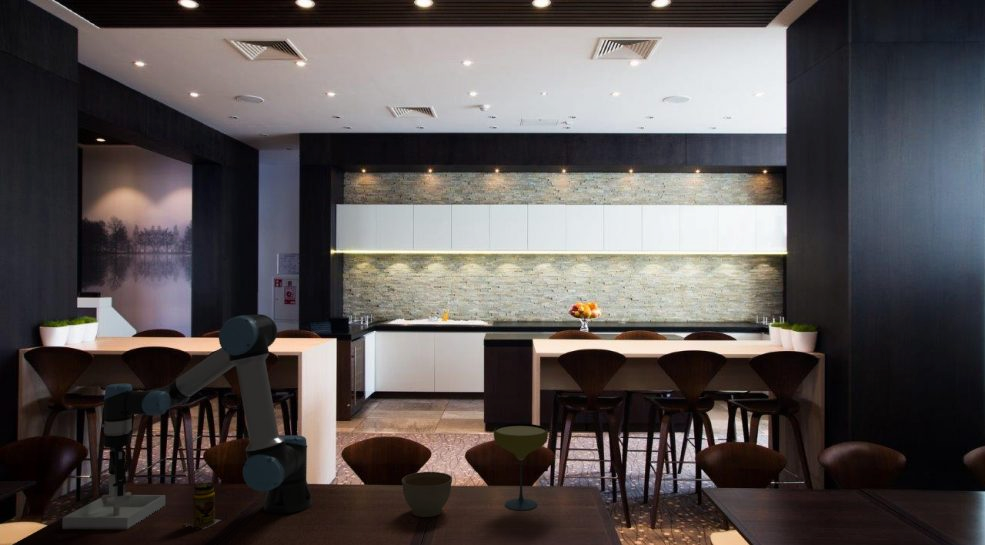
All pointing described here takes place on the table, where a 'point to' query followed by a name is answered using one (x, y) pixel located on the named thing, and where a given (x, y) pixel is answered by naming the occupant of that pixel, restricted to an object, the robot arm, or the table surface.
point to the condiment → (204, 505)
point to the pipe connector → (110, 499)
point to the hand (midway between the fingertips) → (116, 500)
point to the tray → (103, 517)
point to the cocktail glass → (520, 452)
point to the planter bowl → (427, 492)
